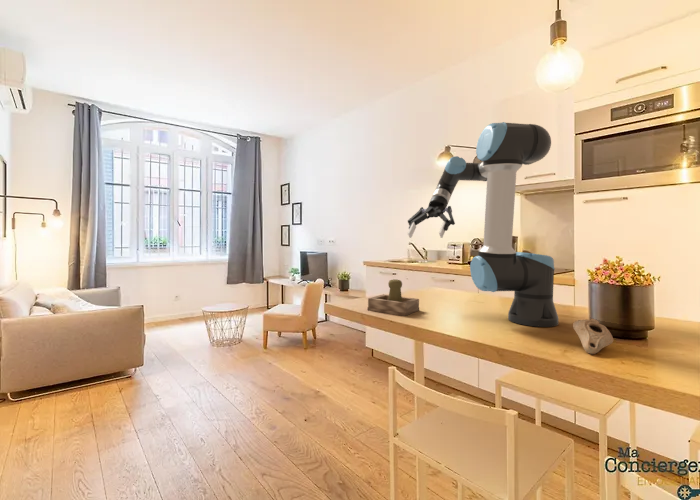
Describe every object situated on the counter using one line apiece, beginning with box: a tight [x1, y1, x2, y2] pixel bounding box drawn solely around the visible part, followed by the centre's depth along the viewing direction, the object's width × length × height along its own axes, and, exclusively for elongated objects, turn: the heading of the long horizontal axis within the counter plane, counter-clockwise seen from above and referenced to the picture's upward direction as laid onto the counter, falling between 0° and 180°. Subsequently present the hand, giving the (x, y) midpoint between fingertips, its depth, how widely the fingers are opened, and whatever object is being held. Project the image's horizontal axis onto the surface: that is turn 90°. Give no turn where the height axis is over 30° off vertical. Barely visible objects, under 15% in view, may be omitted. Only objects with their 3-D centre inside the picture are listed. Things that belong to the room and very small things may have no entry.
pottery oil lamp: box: [572, 318, 614, 355], centre depth 91 cm, size 9×12×7 cm
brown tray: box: [367, 293, 420, 317], centre depth 135 cm, size 16×12×4 cm
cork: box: [388, 278, 403, 302], centre depth 134 cm, size 6×6×11 cm
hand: (424, 235), depth 142 cm, fingers open, 13 cm apart
